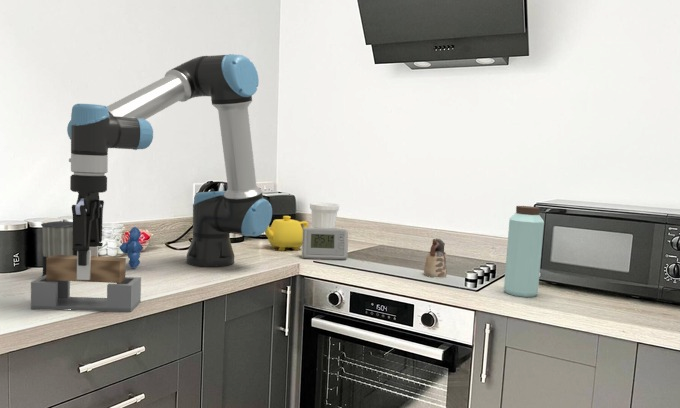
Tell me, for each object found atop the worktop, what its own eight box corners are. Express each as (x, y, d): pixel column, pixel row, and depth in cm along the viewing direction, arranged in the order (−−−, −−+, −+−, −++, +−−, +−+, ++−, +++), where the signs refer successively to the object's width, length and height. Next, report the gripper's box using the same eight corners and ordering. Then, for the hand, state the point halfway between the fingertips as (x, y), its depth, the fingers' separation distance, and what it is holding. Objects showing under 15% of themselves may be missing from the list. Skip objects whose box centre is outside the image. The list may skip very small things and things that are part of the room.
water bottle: (497, 288, 168) (504, 204, 165) (529, 289, 168) (537, 206, 166) (510, 297, 158) (517, 208, 155) (544, 298, 158) (552, 209, 156)
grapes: (119, 263, 175) (120, 224, 174) (143, 262, 177) (143, 224, 176) (117, 271, 164) (118, 230, 163) (142, 271, 166) (143, 230, 165)
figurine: (450, 276, 181) (453, 239, 180) (437, 279, 176) (440, 240, 175) (432, 272, 186) (435, 236, 185) (419, 274, 181) (421, 237, 180)
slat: (125, 279, 131) (125, 257, 131) (119, 283, 127) (119, 261, 127) (54, 275, 130) (54, 254, 130) (46, 279, 126) (46, 257, 126)
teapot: (252, 246, 215) (253, 214, 214) (299, 244, 226) (300, 213, 224) (266, 253, 204) (267, 218, 203) (315, 250, 214) (316, 218, 213)
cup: (326, 243, 230) (328, 206, 229) (302, 239, 237) (303, 203, 236) (343, 240, 241) (345, 204, 239) (319, 236, 247) (321, 202, 246)
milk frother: (39, 282, 148) (39, 225, 147) (44, 269, 162) (44, 217, 161) (98, 279, 153) (98, 225, 152) (98, 267, 168) (99, 217, 167)
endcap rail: (140, 302, 134) (140, 277, 134) (130, 311, 126) (131, 285, 126) (46, 299, 132) (46, 274, 132) (30, 309, 124) (30, 282, 124)
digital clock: (299, 259, 196) (301, 228, 195) (303, 254, 205) (305, 225, 204) (346, 262, 195) (348, 231, 194) (348, 257, 204) (350, 228, 203)
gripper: (85, 171, 135) (84, 268, 137) (55, 174, 118) (54, 285, 120) (118, 173, 135) (116, 269, 137) (92, 176, 118) (91, 286, 120)
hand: (87, 276), depth 129 cm, fingers closed on slat, 4 cm apart
